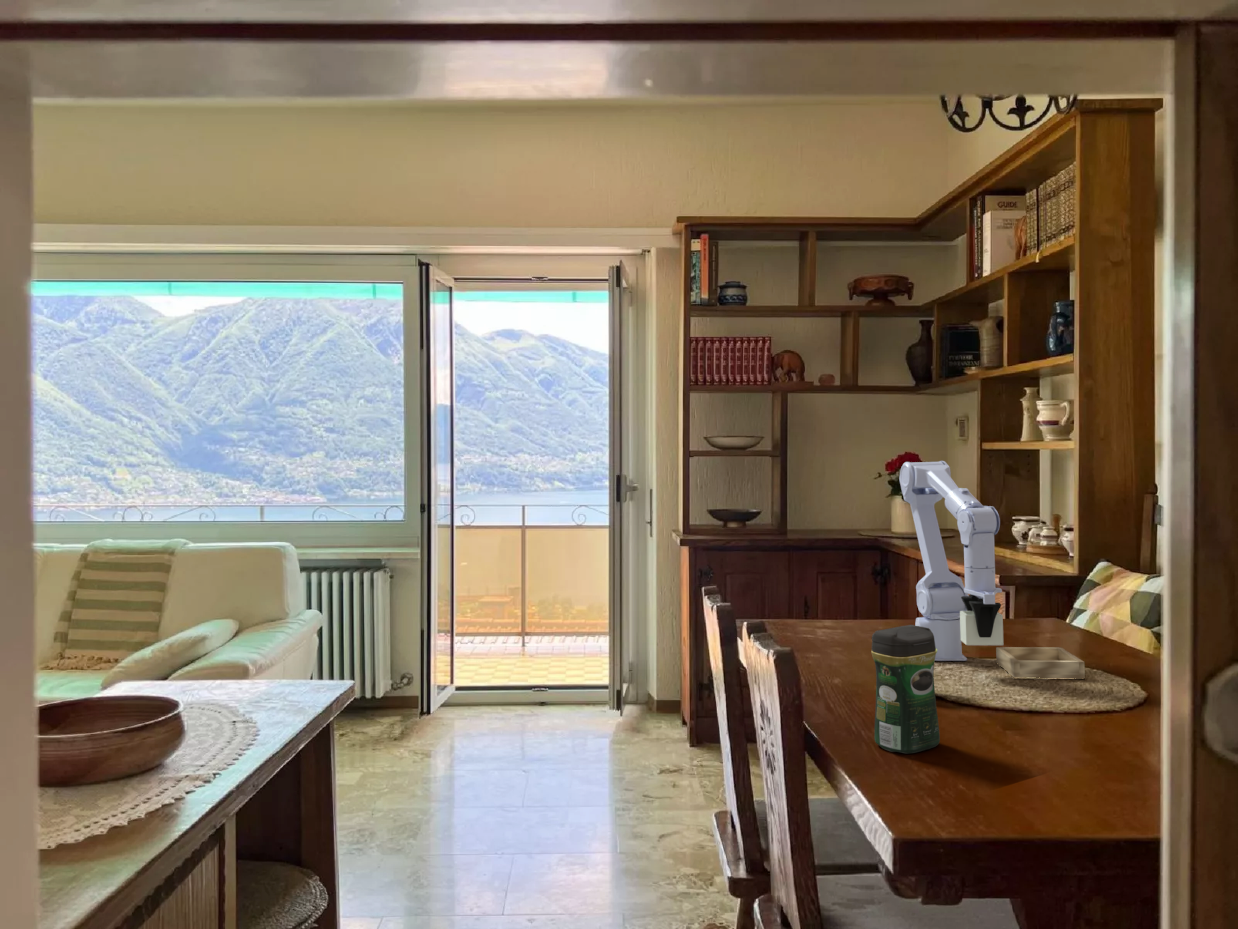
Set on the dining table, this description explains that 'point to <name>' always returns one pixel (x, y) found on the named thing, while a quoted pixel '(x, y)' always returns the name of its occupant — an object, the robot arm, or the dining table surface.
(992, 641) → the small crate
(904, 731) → the coffee jar
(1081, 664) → the wooden tray
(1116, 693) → the dining table surface
